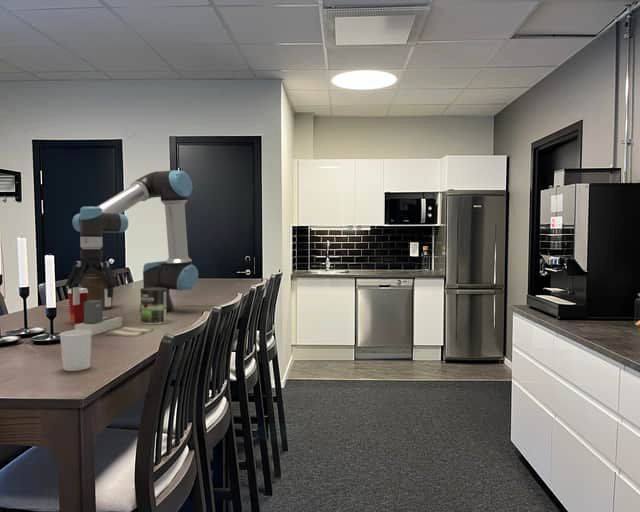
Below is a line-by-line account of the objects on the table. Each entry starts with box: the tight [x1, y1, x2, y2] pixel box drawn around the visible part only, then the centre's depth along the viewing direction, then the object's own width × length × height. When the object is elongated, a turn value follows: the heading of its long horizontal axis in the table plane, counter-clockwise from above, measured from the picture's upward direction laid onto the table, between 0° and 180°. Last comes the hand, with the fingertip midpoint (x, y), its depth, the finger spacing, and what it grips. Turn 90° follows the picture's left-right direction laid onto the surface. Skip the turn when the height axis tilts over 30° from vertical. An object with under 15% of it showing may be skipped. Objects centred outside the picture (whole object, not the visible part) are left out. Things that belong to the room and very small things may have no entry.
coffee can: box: [139, 287, 168, 326], centre depth 211 cm, size 10×10×14 cm
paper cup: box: [67, 287, 88, 325], centre depth 209 cm, size 8×8×14 cm
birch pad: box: [105, 326, 155, 338], centre depth 191 cm, size 12×12×1 cm
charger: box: [84, 300, 103, 324], centre depth 191 cm, size 5×4×10 cm
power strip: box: [74, 315, 123, 337], centre depth 195 cm, size 18×7×5 cm, turn 165°
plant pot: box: [80, 273, 117, 311], centre depth 246 cm, size 16×16×16 cm
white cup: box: [59, 329, 92, 372], centre depth 142 cm, size 8×8×10 cm
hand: (92, 305), depth 191 cm, fingers open, 13 cm apart
